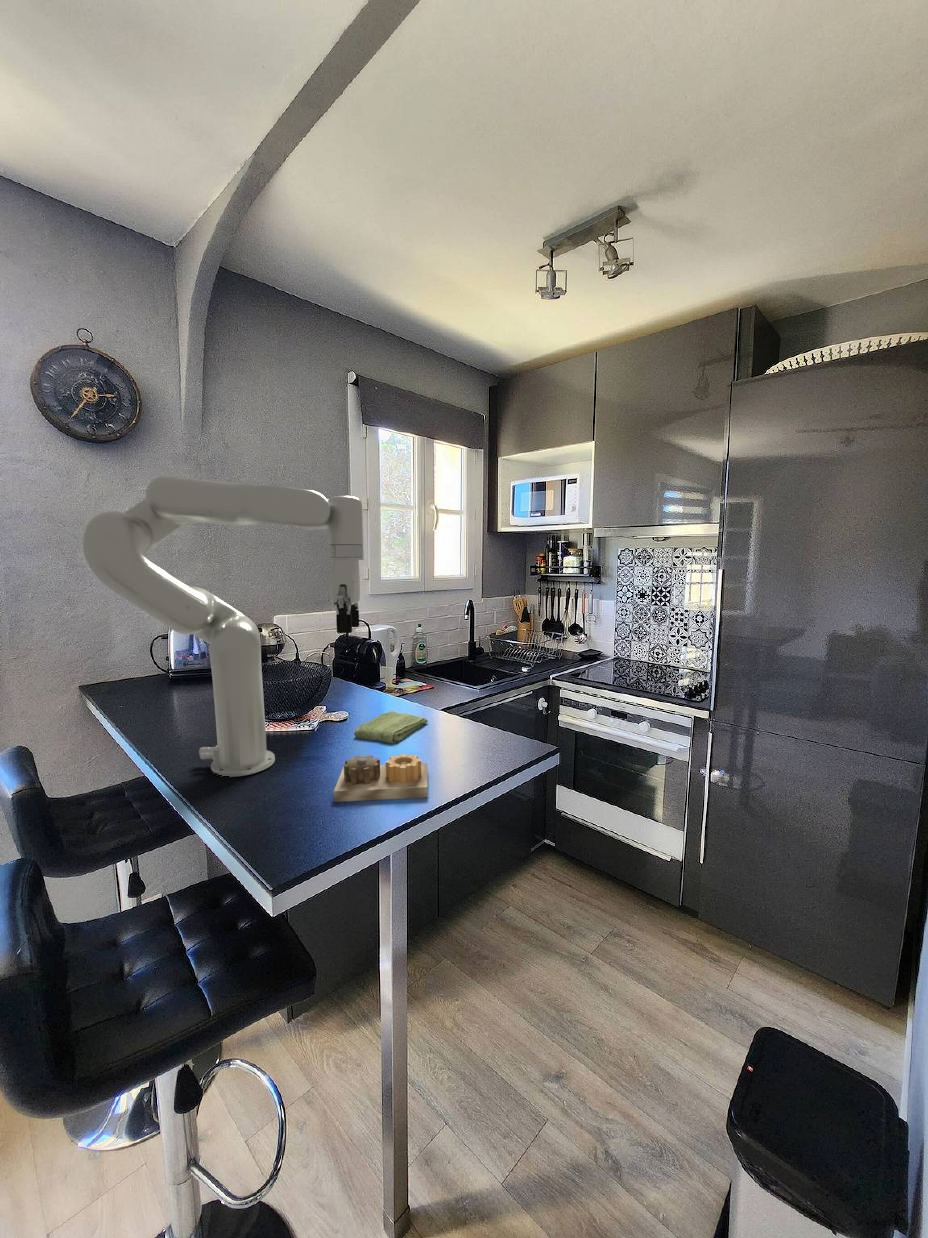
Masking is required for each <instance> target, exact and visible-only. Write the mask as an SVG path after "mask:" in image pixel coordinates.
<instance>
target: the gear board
mask: <svg viewBox="0 0 928 1238" xmlns="http://www.w3.org/2000/svg"><path fill="white" fill-rule="evenodd" d="M400 764H408V763H407V762H402V763H400ZM428 771H429V770H428V763H427V762H425V763H422V762H421V776H418V780H416V781H408V782H406V783H401V782H396V781H394V782H390V781H389V777H386V764H381V759H380V758H379V757H378V758H375V757H374V756H373V755H367V756H361V755H357V756H354V757H353V758H351V759H347V760H345V761H344V764H343V767H342V769H341V773H340V775H339V777H338V780H337V782H336V785H335V786H334V789H333V802H335V803H338V802H339V803H341V802H358V801H359V802H361V801H381V800H384V801H385V800H402V799H403V800H406V799H407V800H408V799H422V798H423V799H425V797H428V786H429V785H428V783H429V780H428V775H429V774H428V773H429V772H428ZM428 798H429V797H428Z"/></svg>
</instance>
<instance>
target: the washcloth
mask: <svg viewBox="0 0 928 1238" xmlns="http://www.w3.org/2000/svg"><path fill="white" fill-rule="evenodd" d="M428 721H429V720H428V719H427V718H425V717H423V716H419V715H414V714H410V713H398V712H397V711H393V710H392V711H391V710H390V711H388V712H384V713H382V714H379V715H378V716H376V717H374V718H372V719H371V720H369V721H367V722H364V723H362V724H360V725H359V726H357V728H356V729H355V730H354V732H353V734H354V736H355V738H357V739H365V740H369V741H372V740H374V741H379V742H381V743H387V744H396V743H398V742H400V741H402V740H403V739H405V738H406V737H408V736H410V735H411V734H412V733H413V732H415V731H417V730H418V729H420V728H421V727H422V726H424V725H425V724H427V723H428Z"/></svg>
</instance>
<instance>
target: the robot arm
mask: <svg viewBox="0 0 928 1238" xmlns="http://www.w3.org/2000/svg"><path fill="white" fill-rule="evenodd" d="M188 522H189V523H200V524H212V525H223V526H234V527H237V526H238V527H247V526H251V525H252V526H253V525H280V526H292V527H297V528H299V529H301V530H302V531H316V530H319V531H320V530H327V536H328V538H327V539H328V560H329V561H331V575H330V576H331V578H330V579H331V580H330V581H331V583H330V584H331V585H330V586H331V590H330V591H331V595H330V599H331V600H330V602H331V604H332V605H333V606H336V611H335V612H336V616H335V617H336V619H335V621H336V622H335V623H336V634H351V633H352V632H353V628H358V627H360V609H359V602H360V599H361V597H360V596H361V592H360V591H361V583H360V582H361V581H360V576H361V575H360V563H359V562H360V561H363V560H364V532H363V531H364V530H363V529H364V526H363V504H362V500H361V499H359V498H358V497H356V496H352V495H351V496H350V495H335V496H331V497H330V498H326V497H325V496H324V495H323V494H322V493H320V492H319V491H315V490H312V489H311V490H310V489H305V488H304V489H303V488H295V487H287V486H286V487H285V486H277V485H264V484H263V485H261V484H260V485H259V484H249V483H237V482H229V481H228V482H227V481H218V480H210V479H202V478H201V479H200V478H195V477H185V476H175V475H162V476H157V477H156V478H154V479H152V480H151V481H150V482H149V483H148V485H147V486H146V489H145V498H144V499H142V500H140V501H139V502H138V503H137V504H135V505H134V506H132V507H131V508H129V509H128V510H126V511H125V512H122V511H116V510H115V511H113V510H112V511H105V512H100V513H99V514H96V515H95V516H94V517H92V518H91V519H90V521H89V522H88V524H87V525H86V526H85V530H84V533H83V537H82V538H83V539H82V549H83V554H84V557H85V560H86V563H87V565H88V566H89V568H90V570H91V572H93V574H94V575H95V577H96V578H97V579H98V580H99V581H100V582H101V583H102V584H104V585H105V586H106V587H107V588H108V589H110V590H111V591H112V592H114V593H115V594H117V595H118V596H120V597H122V598H124V599H125V600H126V601H128V602H130V603H132V604H133V605H134V606H135V607H137V608H139V609H140V610H141V611H143V612H145V613H146V614H148V615H150V617H153V618H154V619H156V620H158V621H159V622H160V623H162V624H164V625H165V626H166V627H168V628H169V629H171V630H173V631H174V632H176V633H179V634H181V635H194V636H195V637H197V638H198V639H200V640H202V641H204V642H205V643H207V644H209V645H208V651H209V653H208V654H209V661H210V668H211V677H212V678H211V679H212V690H213V692H212V693H213V700H214V714H215V728H216V740H217V741H216V743H217V744H216V745H215V746H211V747H210V746H201V747H200V748H199V750H198V756H200V757H199V758H200V760H212V762H211V765H210V771H211V770H212V771H213V772H214V773H217V774H219V775H222V776H221V777H223V776H229V777H228V778H235V777H244V776H249V775H254V774H256V773H259V772H261V771H262V772H263V771H265V770H266V769H268V768H270V767H272V765H274V763H275V761H276V755H275V753H273V751H271V750H268V749H267V735H266V732H267V731H266V720H265V719H266V717H265V716H266V715H265V701H264V688H263V687H264V684H263V672H262V667H263V666H262V645H261V641H262V640H261V635H260V630H259V629H258V626H257V624H256V623H255V622H254V621H253V620H252V619H250V618H249V617H248V616H246V615H244V613H242V612H241V611H239V610H237V609H236V608H234V607H233V606H231V605H230V604H228V603H227V602H225V601H223V600H222V599H220V598H219V597H218V596H216V595H215V594H213V593H211V592H210V591H209V590H207V589H204V588H202V587H199V586H193V585H192V586H191V585H188V584H185V583H184V582H182V581H181V580H179V579H177V578H176V577H174V576H173V575H171V574H170V573H169V572H168V571H166V570H165V569H163V568H161V567H160V566H158V565H156V564H155V563H153V562H152V561H150V560H149V559H148V558H147V557H145V556H144V554H146V553H148V552H149V551H151V550H152V549H153V548H155V547H156V546H158V545H159V544H161V542H163V541H165V540H166V539H168V537H170V536H171V535H173V534H174V533H176V532H177V531H178V530H179V529H181V528H182V527H184V526H185V524H187V523H188ZM212 771H211V772H212ZM214 773H213V774H214Z"/></svg>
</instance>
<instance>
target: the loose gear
mask: <svg viewBox="0 0 928 1238" xmlns="http://www.w3.org/2000/svg"><path fill="white" fill-rule="evenodd" d="M402 762H407V763H408V764H400V763H402ZM421 763H422V758H419V756H418V755H416V754H413V755H409V754H407V753H402V754H400V755H396V756H395V755H392V756H389V760H385V765H386V777H389V781H390V782H394V781H396V782H401V783H406V782H408V781H416V780H418V776H421Z"/></svg>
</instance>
